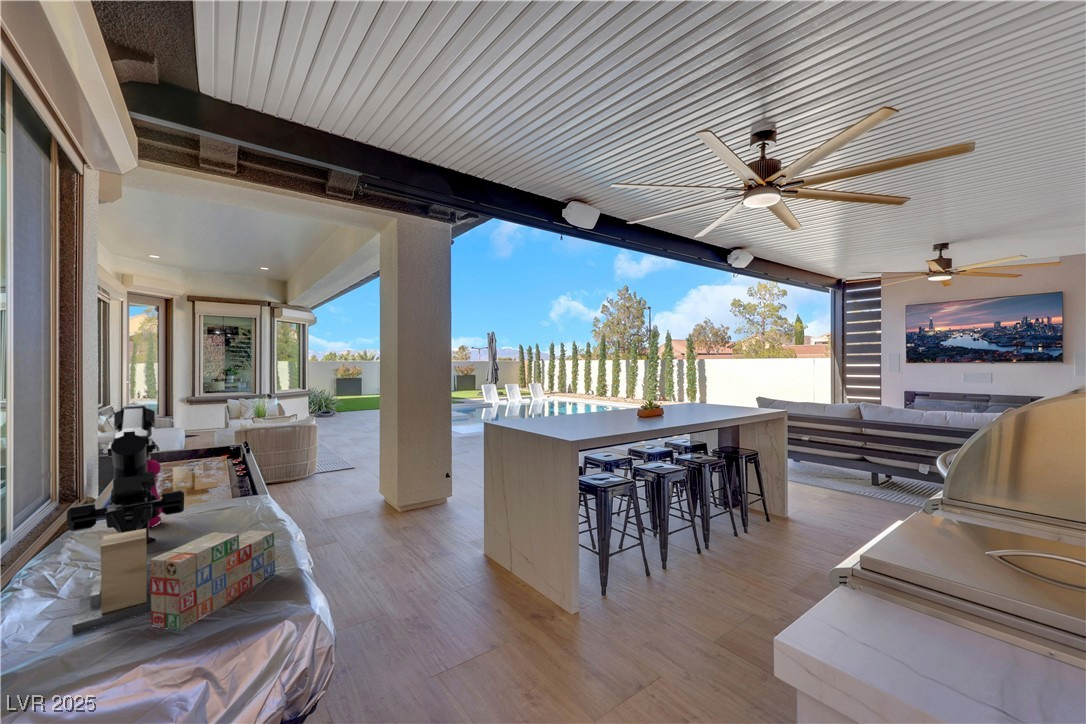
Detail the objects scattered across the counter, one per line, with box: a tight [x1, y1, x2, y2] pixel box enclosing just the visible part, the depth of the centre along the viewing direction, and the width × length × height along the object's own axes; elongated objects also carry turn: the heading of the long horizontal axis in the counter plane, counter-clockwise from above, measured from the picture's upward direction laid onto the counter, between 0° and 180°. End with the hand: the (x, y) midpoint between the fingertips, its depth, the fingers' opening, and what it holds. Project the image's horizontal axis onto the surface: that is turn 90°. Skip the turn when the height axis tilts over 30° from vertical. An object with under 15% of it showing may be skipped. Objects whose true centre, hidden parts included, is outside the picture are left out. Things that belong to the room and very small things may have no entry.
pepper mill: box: [146, 454, 162, 527], centre depth 128 cm, size 7×7×20 cm
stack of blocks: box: [149, 530, 276, 632], centre depth 89 cm, size 21×6×12 cm, turn 169°
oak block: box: [100, 528, 148, 614], centre depth 85 cm, size 6×6×12 cm
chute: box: [71, 563, 152, 635], centre depth 90 cm, size 22×13×4 cm, turn 40°
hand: (128, 545), depth 96 cm, fingers closed
